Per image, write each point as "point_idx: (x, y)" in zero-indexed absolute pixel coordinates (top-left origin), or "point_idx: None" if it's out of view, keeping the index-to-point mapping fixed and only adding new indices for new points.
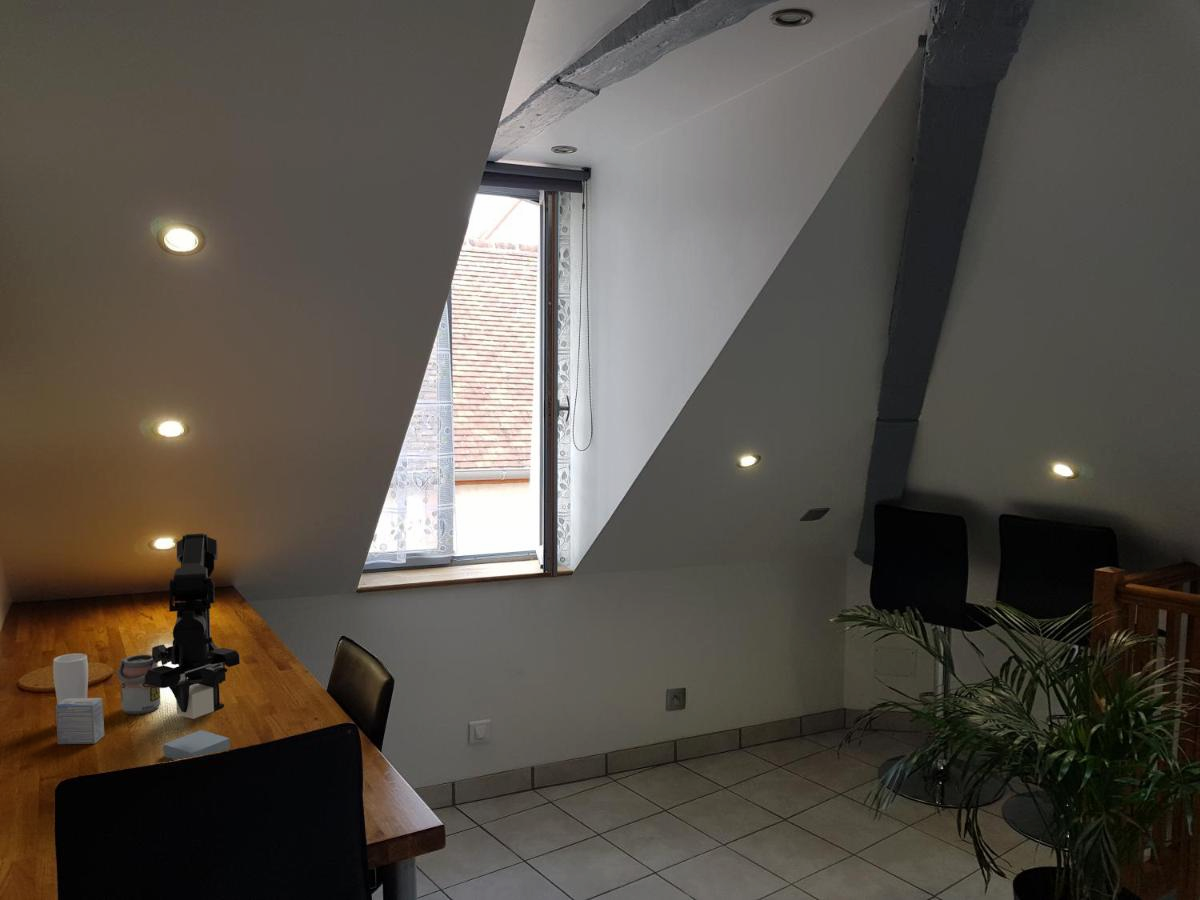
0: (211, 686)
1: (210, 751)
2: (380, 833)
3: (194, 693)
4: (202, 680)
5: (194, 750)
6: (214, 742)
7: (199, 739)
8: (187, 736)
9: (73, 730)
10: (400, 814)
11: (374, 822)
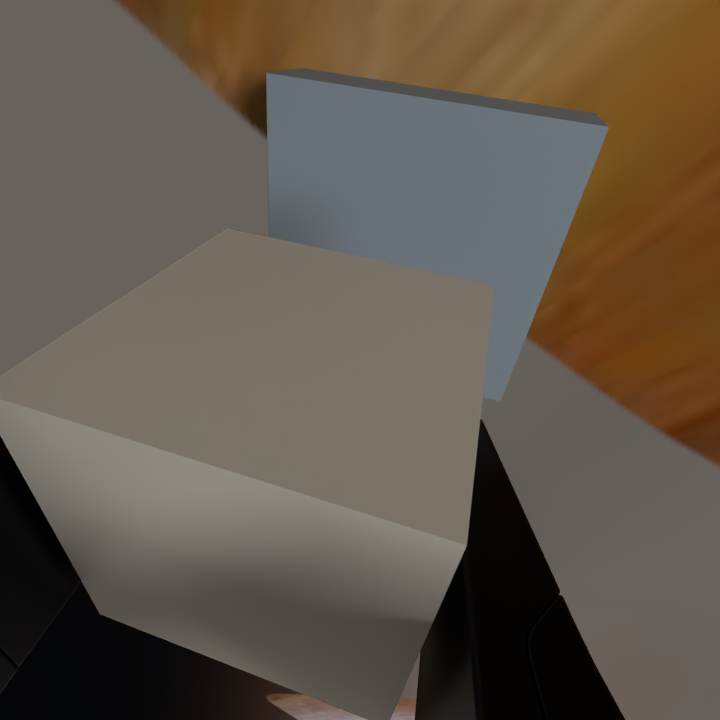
0: (418, 714)
1: None
2: (273, 697)
3: (135, 623)
4: (476, 712)
5: None
6: None
7: (428, 258)
8: (449, 129)
9: None
10: (332, 715)
11: (293, 694)
